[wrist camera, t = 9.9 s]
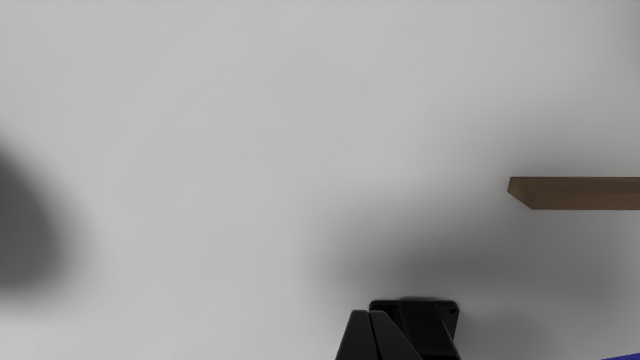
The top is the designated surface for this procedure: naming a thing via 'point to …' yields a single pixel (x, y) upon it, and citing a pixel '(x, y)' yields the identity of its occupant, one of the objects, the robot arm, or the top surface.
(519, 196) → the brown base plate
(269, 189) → the top surface
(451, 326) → the robot arm
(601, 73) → the top surface
